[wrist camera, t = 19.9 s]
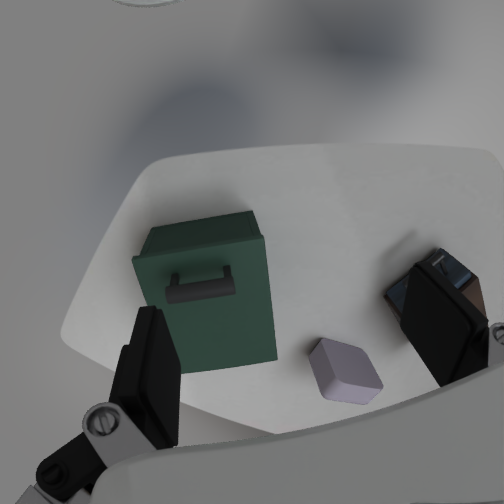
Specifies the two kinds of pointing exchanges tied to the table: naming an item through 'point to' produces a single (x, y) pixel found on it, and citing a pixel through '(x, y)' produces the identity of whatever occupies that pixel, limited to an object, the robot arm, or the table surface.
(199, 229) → the chest
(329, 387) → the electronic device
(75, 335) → the table surface
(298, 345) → the table surface
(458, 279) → the drawer
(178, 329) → the chest lid
